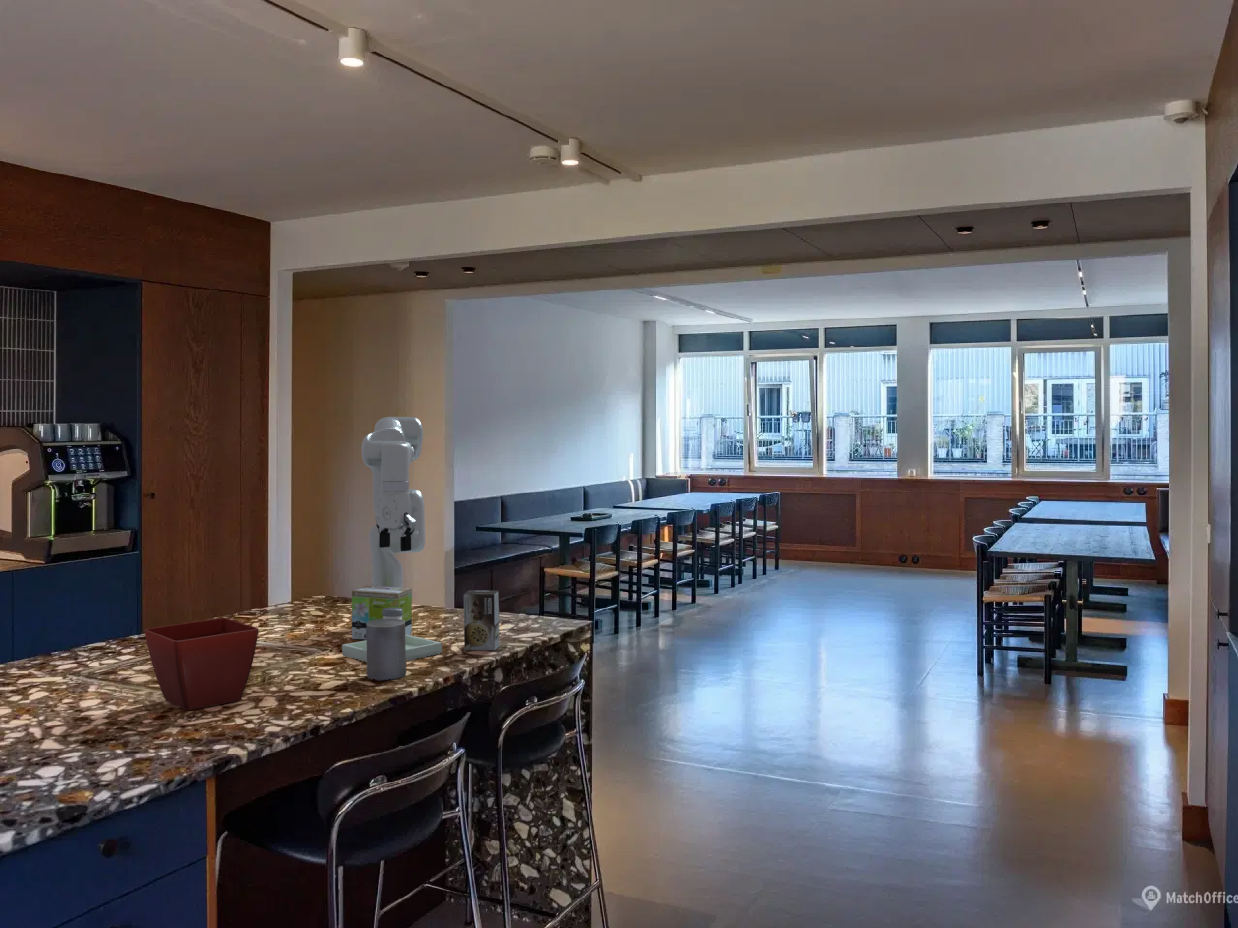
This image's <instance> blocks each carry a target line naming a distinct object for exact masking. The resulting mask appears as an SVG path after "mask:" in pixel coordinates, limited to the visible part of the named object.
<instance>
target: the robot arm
mask: <svg viewBox="0 0 1238 928" xmlns="http://www.w3.org/2000/svg"><path fill="white" fill-rule="evenodd" d="M423 439H424V427H423V425H422V422H421V421H420V419H419V418H417V417H416V416H414V417H412V416H386V417H382V418H381V419H379V420H378V421H377V422H376V423H375V426H374V430H373V432H370V433H368V434H367V435H365V436H364V438H363V440H362V443H361V458H362V461H363V464H364V465H365V466H366V467H368V468H369V469H370V472H371V475H372V504H373V506H372V507H373V512H374V515H375V517H374V520H375V523H376V524H375V525H374V526H372V527H370V530H369V532H368V541H369V547H370V554H371V555H370V556H371V574H372V575H371V586H381V587H396V588H404V587H403V586H404V583H403V581H404V579H403V577H404V575H403V574H404V573H403V569H404V568H403V565H402V563H401V561H400V560H399V559H398V558H397V557H396V556H395V554H409V553H413V554H414V553H419V552H421V551H423V550H424V549H425V545H426V519H425V518H426V515H425V509H426V508H425V500H424V496H423V493H422V492H421V491H420V490H418V489H416V488H415V489H414V488H410V474H409V473H410V466H411V463H412V462H415V461H416V460H418V459H419V458H420V457H421V454H422V449H423V448H422V447H423Z"/></svg>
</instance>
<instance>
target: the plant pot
mask: <svg viewBox="0 0 1238 928" xmlns="http://www.w3.org/2000/svg"><path fill="white" fill-rule="evenodd" d="M144 635H145V640H146V645H147V651H148V653H149V657H150V662H151V665H152V668H153V671H154V676H155V677H156V680H157V684H158V686H159V689H160V691H161V693H162V696H163V698H164V700H165V701H166V702H168V703H169V704H171V705H174V706H176V707H177V708H179V709H181V710H183V711H193V710H198V709H203V708H208V707H214V706H218V705H224V704H228V703H233V702H238V701H240V700H242V698H243V695H244V693H245V689H246V686H247V683H248V679H249V677H250V674H251V672H252V671H251V669H252V666H253V662H254V658H255V655H256V654H255V653H256V648H257V642H258V635H259V627H256V626H253V625H251V624H250V625H249V624H246V623H243V622H240V621H236V620H233V619H230V618H227V617H225V618H224V617H220V618H213V619H205V620H198V621H192V622H191V621H190V622H183V623H176V624H170V625H168V624H167V625H163V626H162V625H161V626H156V627H149V628H145V629H144Z"/></svg>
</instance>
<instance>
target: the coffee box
mask: <svg viewBox="0 0 1238 928" xmlns="http://www.w3.org/2000/svg"><path fill="white" fill-rule="evenodd" d="M463 632H464V633H463V636H464V637H463V640H464V647H463V648H464V649H463V650H464V651H496V650H497V649H499V648H500V590H485V589H483V590H480V589H478V590H476V589H475V590H474V589H470V590H469V589H468V591H466V592H465V593H464V594H463Z"/></svg>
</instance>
